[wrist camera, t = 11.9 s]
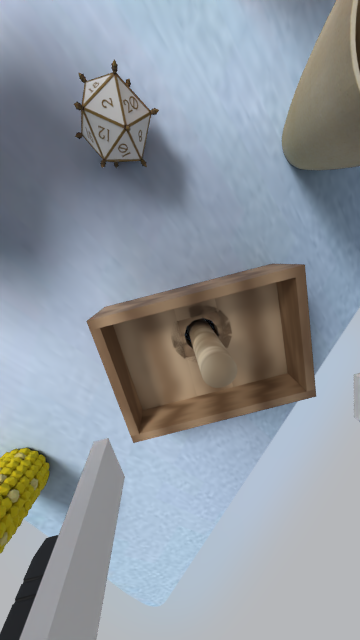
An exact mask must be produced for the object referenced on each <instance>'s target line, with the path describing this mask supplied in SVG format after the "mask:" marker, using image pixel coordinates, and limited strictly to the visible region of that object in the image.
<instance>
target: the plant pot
mask: <svg viewBox="0 0 360 640" xmlns="http://www.w3.org/2000/svg"><path fill="white" fill-rule="evenodd" d="M282 148H283V152H284V155H285V157H286V159H287V160H288V161H289V162H290V164H292V165H293V166H294V167H296V168H299V169H304V170H331V169H342V168H350V167H356V166H360V0H336V2H335V4H334V6H333V8H332V10H331V12H330V14H329V16H328V18H327V20H326V22H325V24H324V27H323V29H322V31H321V33H320V35H319V37H318V39H317V41H316V44H315V46H314V48H313V50H312V53H311V55H310V57H309V59H308V62H307V64H306V66H305V69H304V71H303V73H302V76H301V78H300V81H299V83H298V86H297V89H296V91H295V94H294V97H293V99H292V102H291V105H290V108H289V112H288V115H287V118H286V122H285V125H284V130H283V134H282Z"/></svg>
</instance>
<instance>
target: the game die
mask: <svg viewBox="0 0 360 640" xmlns="http://www.w3.org/2000/svg"><path fill="white" fill-rule="evenodd" d="M111 65H112V67H111V68H112V70H113V73H110V74H107V75H104V76H101V77H98V78H95V79H92V80H89V81H87V80H86V77H84V74H81V73H79V72H78V73H79V77H80V78H79V79H81V81H82V82H84V92H83V99H82V105H81V104H80V103H78V102H76V103H74V105H75V107H76V109H79V110H81V133H80V132H78V133H77V134H76V136H75V137H77V138H79V139H80V138H82V136H83V137H84V138H85V139H86V140H87V141H88V143H89V144H90V145H91V146H92V147H93V148H94V150H95V151H96V152H97V153H98V154H99V155H100V157H101V158H102V159H103V160H102V161H101V163H100V164H101V167H102V168H103V167H105V165H106V161H108V162H114V166H115V167H116V168H117V167H118V166H119V165H118V162H128V161H141V164H142V166H145V167H147V166H146V162H145V160H143V159H142V158H143V153H144V148H145V143H146V138H147V133H148V128H149V123H150V118H151V115H154V114H157V112H158V111H159V110H158V109H156V108H154V109H153V108H152V110H149V109H148V108H147V106H146V105H145V104H144V103H143V102H142V101H141V100H140V99H139V98H138V96H137V95H136V94H135V93H134V92H133V91H132V90H131V89H130V88H129V87H130V85H131V83H130V79H126V83H125V82H124V81H123V80H122V79H121V78H120V76H119V75H118V74H117V73H116V72H117V64H116V61H115V59H114V61H113V63H112V64H111Z"/></svg>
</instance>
